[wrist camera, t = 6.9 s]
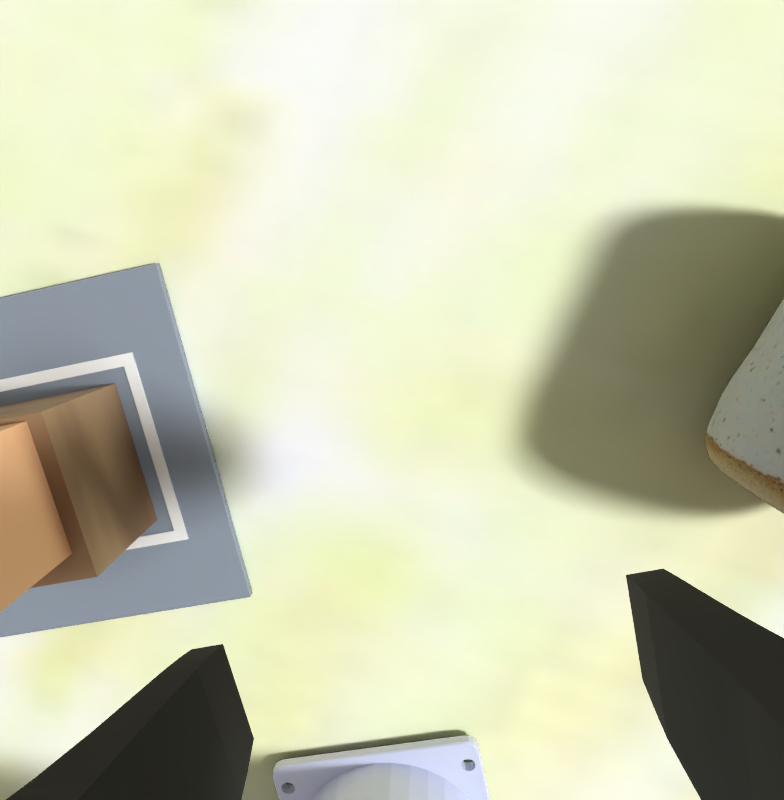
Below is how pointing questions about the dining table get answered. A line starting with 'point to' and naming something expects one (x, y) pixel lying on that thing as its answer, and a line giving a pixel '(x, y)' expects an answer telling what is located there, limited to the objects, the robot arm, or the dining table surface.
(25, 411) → the walnut block
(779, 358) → the grey cylinder
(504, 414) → the dining table surface
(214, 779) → the robot arm
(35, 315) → the mat
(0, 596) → the terracotta block
